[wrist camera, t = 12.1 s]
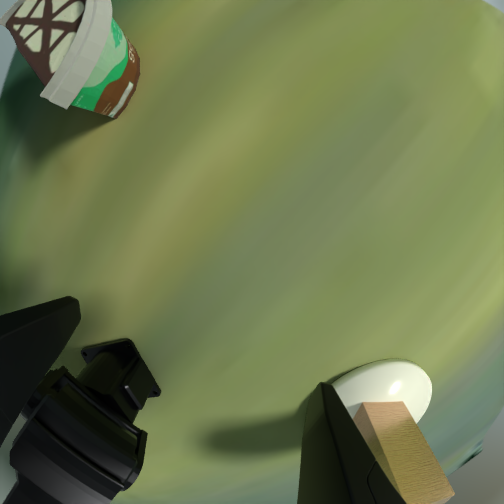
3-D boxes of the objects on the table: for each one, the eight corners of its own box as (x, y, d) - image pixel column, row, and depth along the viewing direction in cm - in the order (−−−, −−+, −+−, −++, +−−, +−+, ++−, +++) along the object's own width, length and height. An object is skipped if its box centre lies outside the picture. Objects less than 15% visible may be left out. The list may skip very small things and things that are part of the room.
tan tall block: (343, 434, 24) (372, 536, 11) (362, 401, 23) (407, 511, 10) (382, 433, 24) (419, 522, 11) (402, 401, 23) (455, 494, 10)
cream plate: (318, 462, 26) (319, 469, 25) (291, 388, 24) (292, 397, 22) (423, 422, 25) (427, 428, 24) (428, 337, 22) (434, 343, 21)
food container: (186, 75, 18) (138, 5, 8) (126, 130, 19) (43, 102, 9) (110, 9, 16) (57, -44, 6) (62, 55, 17) (-5, 20, 7)
